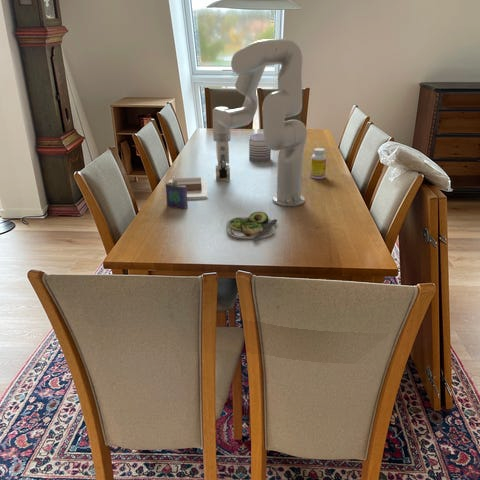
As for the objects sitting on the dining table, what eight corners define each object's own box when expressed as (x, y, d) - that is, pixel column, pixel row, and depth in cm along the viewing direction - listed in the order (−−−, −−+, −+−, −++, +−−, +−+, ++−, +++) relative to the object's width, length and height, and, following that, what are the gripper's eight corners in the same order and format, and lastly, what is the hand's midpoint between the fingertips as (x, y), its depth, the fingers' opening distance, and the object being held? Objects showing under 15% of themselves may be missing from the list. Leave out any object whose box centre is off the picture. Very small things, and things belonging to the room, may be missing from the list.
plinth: (201, 190, 193) (201, 183, 191) (172, 191, 192) (172, 184, 190) (201, 184, 200) (200, 177, 198) (173, 185, 199) (172, 178, 197)
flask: (189, 207, 179) (187, 181, 174) (184, 210, 177) (183, 183, 172) (169, 203, 183) (167, 177, 178) (164, 206, 180) (162, 179, 176)
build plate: (207, 198, 187) (207, 196, 187) (167, 200, 186) (167, 197, 185) (205, 181, 207) (205, 178, 206) (169, 182, 205) (168, 180, 205)
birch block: (229, 180, 208) (229, 167, 205) (216, 181, 207) (216, 168, 204) (229, 177, 212) (228, 164, 209) (216, 178, 211) (215, 165, 208)
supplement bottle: (324, 179, 208) (326, 151, 202) (309, 178, 209) (311, 150, 203) (325, 175, 214) (327, 147, 208) (310, 174, 215) (312, 147, 209)
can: (271, 156, 242) (272, 133, 236) (270, 163, 231) (271, 139, 226) (249, 156, 243) (249, 133, 237) (247, 162, 233) (247, 138, 227)
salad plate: (280, 245, 150) (280, 232, 148) (225, 245, 150) (224, 232, 148) (276, 221, 168) (276, 209, 166) (227, 221, 168) (226, 209, 166)
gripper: (232, 141, 193) (232, 180, 201) (228, 131, 209) (229, 168, 217) (214, 141, 193) (215, 181, 200) (212, 132, 208) (213, 168, 216)
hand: (222, 174), depth 208 cm, fingers open, 9 cm apart
